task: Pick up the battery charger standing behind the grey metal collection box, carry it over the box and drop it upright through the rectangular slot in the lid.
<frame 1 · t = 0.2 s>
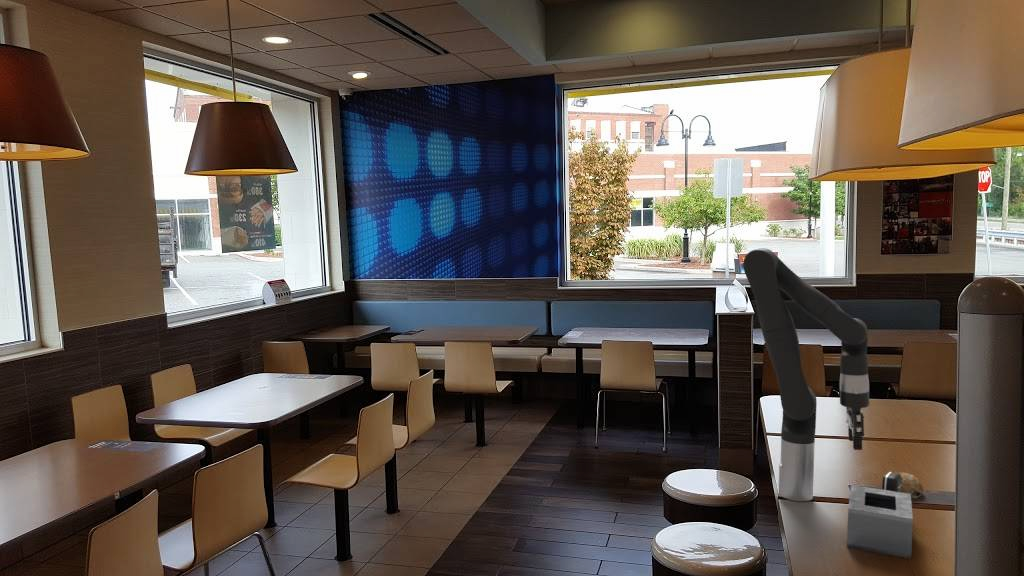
hand: (855, 445, 200), 18 cm above the table, tool pointing down, fingers open, 8 cm apart
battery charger: (891, 515, 195), on the table
bread roll: (901, 493, 211), on the table
collection box: (878, 538, 180), on the table
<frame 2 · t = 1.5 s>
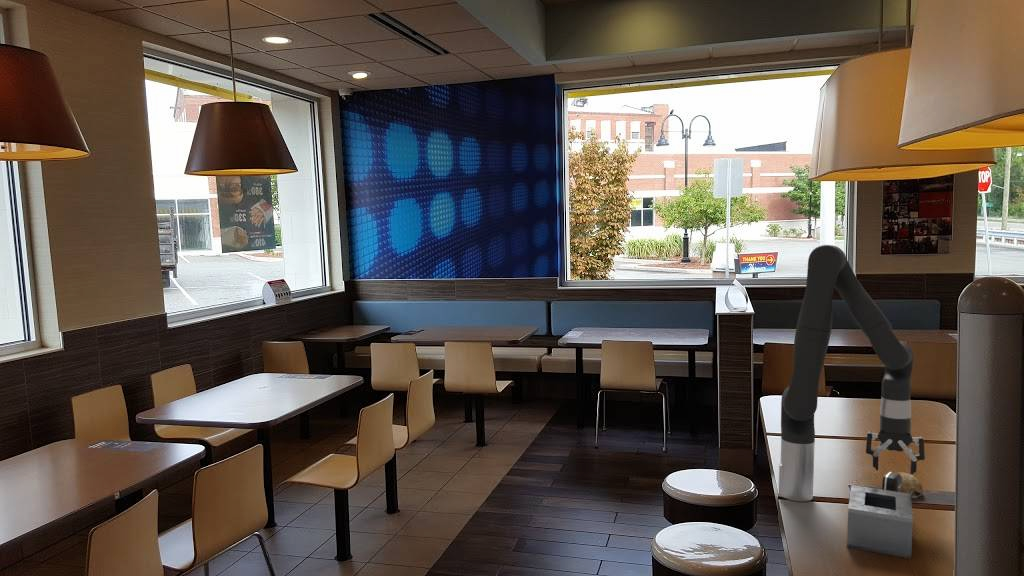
hand: (894, 471, 194), 12 cm above the table, tool pointing down, fingers open, 8 cm apart
nothing on the table moved.
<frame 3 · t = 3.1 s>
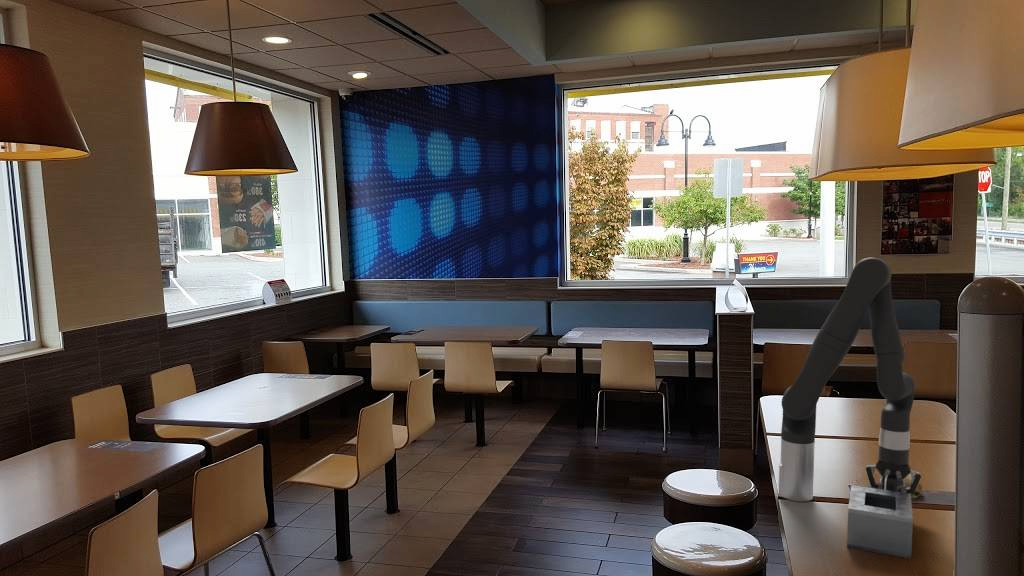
hand: (891, 504, 195), 3 cm above the table, tool pointing down, fingers closed on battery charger, 4 cm apart
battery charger: (891, 515, 195), on the table, touching gripper
everything else where it was.
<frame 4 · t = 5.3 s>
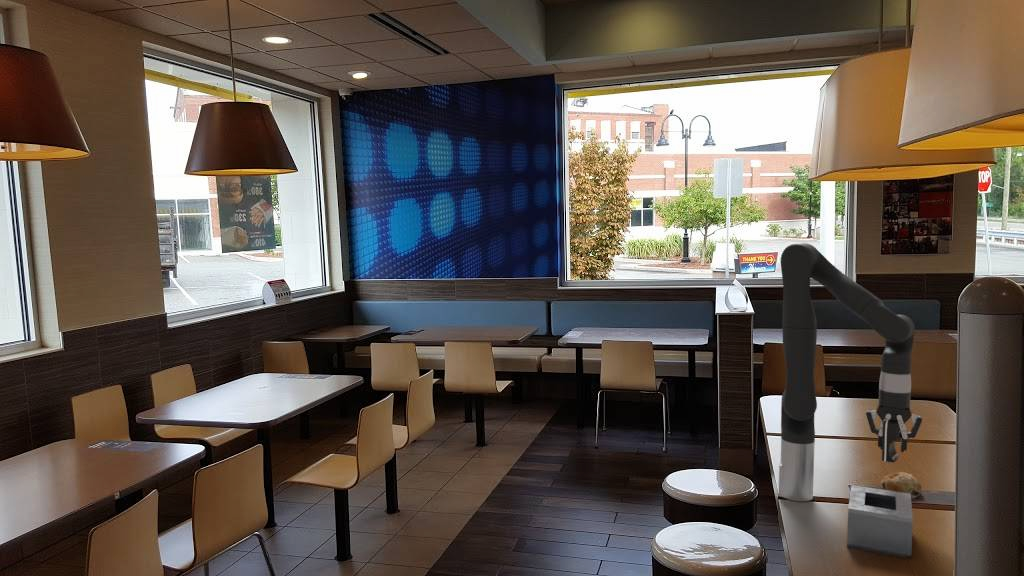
hand: (892, 449, 191), 19 cm above the table, tool pointing down, fingers closed on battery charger, 4 cm apart
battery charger: (892, 460, 191), point 16 cm above the table, touching gripper
everything else where it was.
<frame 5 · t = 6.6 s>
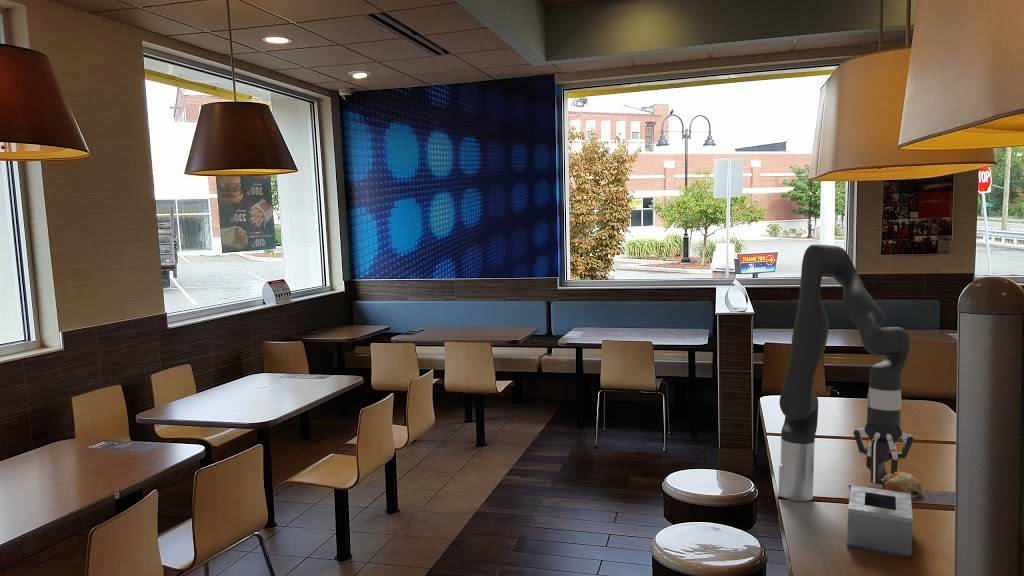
hand: (881, 471, 178), 18 cm above the table, tool pointing down, fingers closed on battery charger, 4 cm apart
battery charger: (881, 482, 179), point 15 cm above the table, touching gripper
everything else where it was.
when the fingers open (14 cm above the table, at t = 7.5 s): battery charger drops 10 cm, resting on collection box.
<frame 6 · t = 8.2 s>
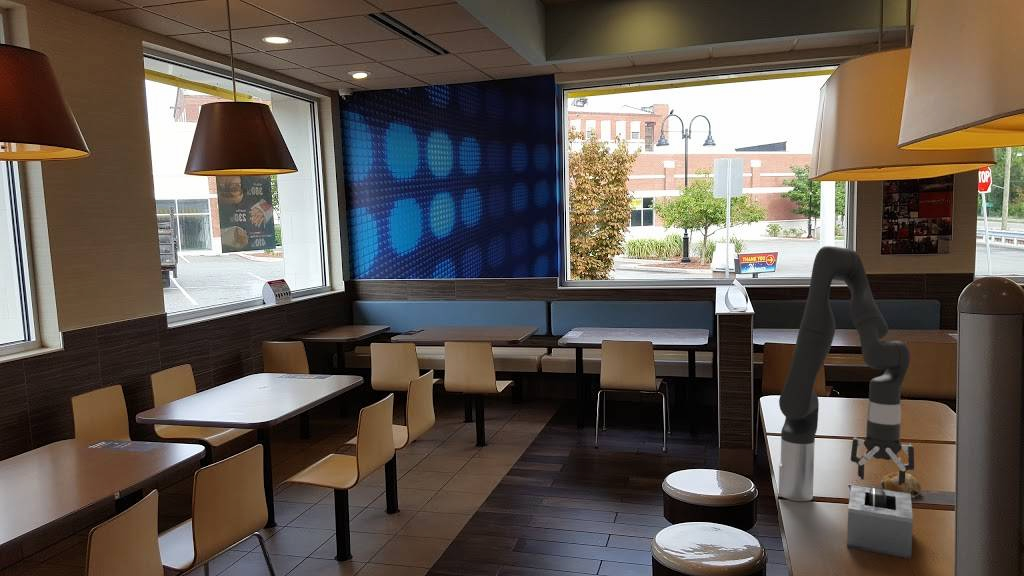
hand: (881, 481, 178), 15 cm above the table, tool pointing down, fingers open, 8 cm apart
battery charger: (877, 535, 180), point 1 cm above the table, touching collection box
everything else where it was.
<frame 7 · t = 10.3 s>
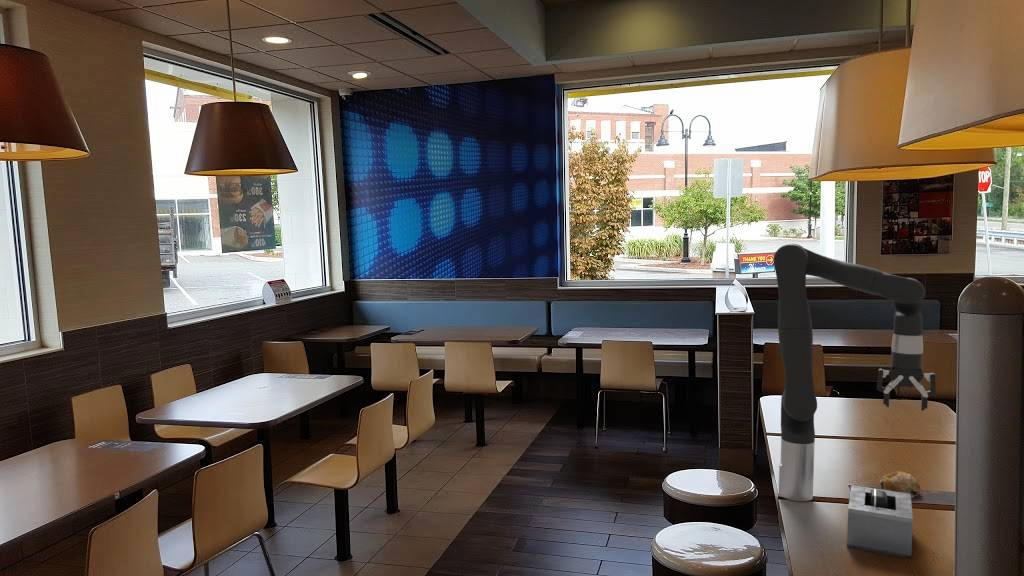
hand: (905, 408, 194), 30 cm above the table, tool pointing down, fingers open, 8 cm apart
nothing on the table moved.
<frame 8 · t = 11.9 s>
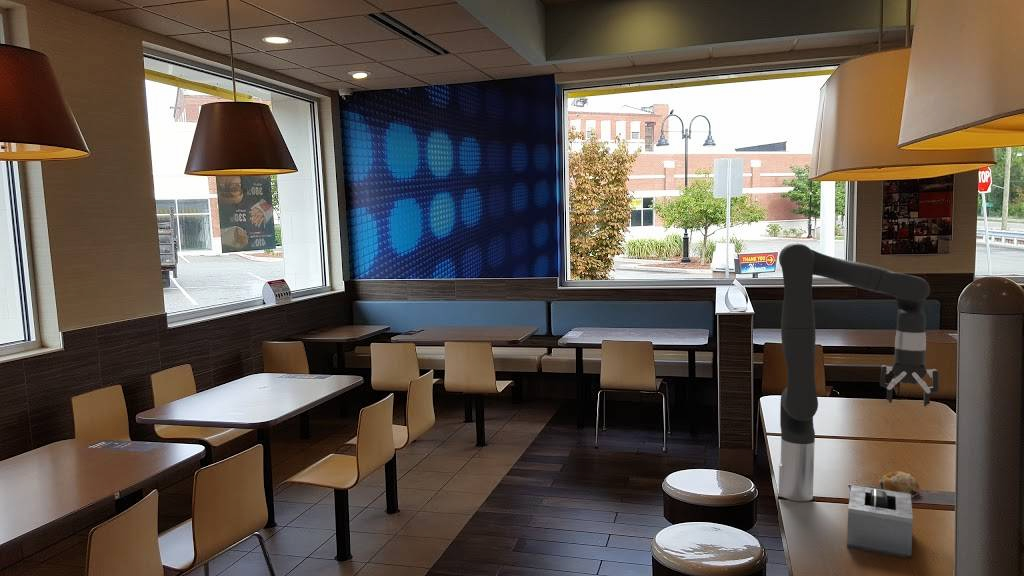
hand: (907, 404, 197), 30 cm above the table, tool pointing down, fingers open, 8 cm apart
at the end: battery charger inside the target area on the collection box (0.2 cm from its centre), point 0.6 cm above the collection box's base; the gripper is holding nothing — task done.
